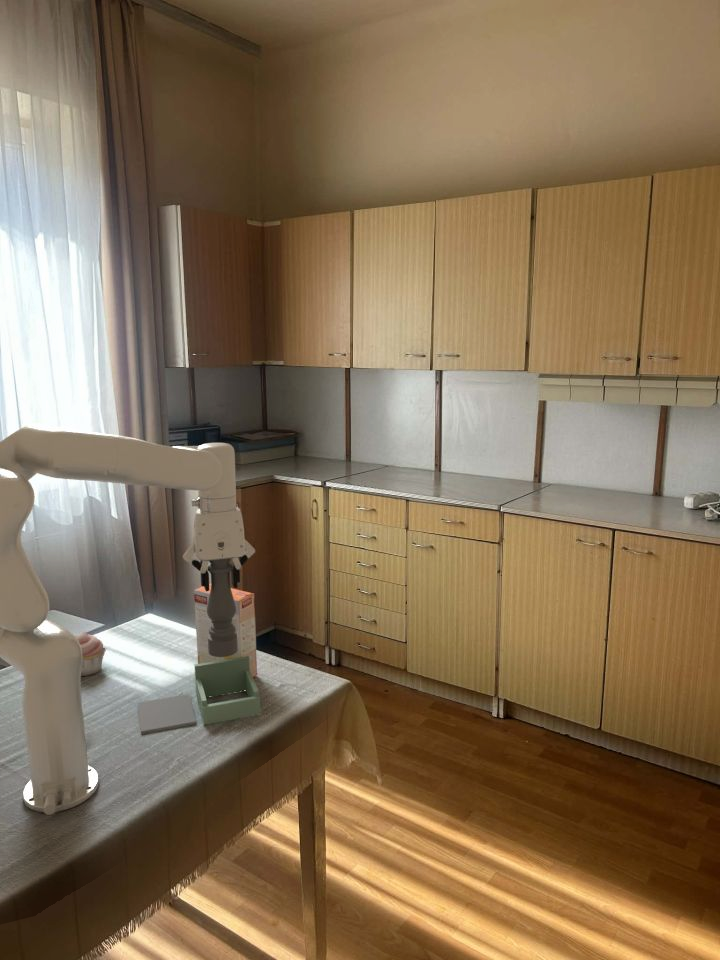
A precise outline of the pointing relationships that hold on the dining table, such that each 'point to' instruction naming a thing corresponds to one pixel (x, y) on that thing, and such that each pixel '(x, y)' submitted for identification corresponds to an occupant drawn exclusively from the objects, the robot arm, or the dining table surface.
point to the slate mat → (165, 713)
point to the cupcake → (90, 653)
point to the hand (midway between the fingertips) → (220, 586)
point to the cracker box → (241, 621)
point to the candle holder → (221, 609)
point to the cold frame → (226, 689)
